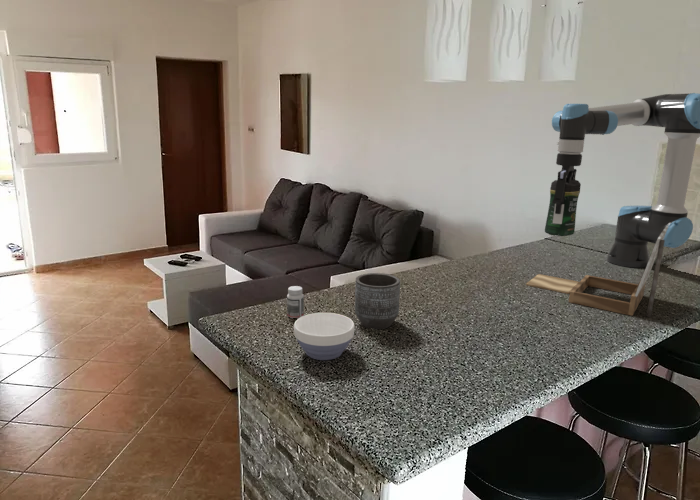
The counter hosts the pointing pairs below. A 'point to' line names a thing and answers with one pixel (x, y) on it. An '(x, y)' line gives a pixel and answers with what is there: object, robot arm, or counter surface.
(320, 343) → the bowl
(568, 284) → the mat
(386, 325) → the planter
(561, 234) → the coffee jar
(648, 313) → the cold frame
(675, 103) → the robot arm
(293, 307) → the pill bottle
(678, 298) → the counter surface
